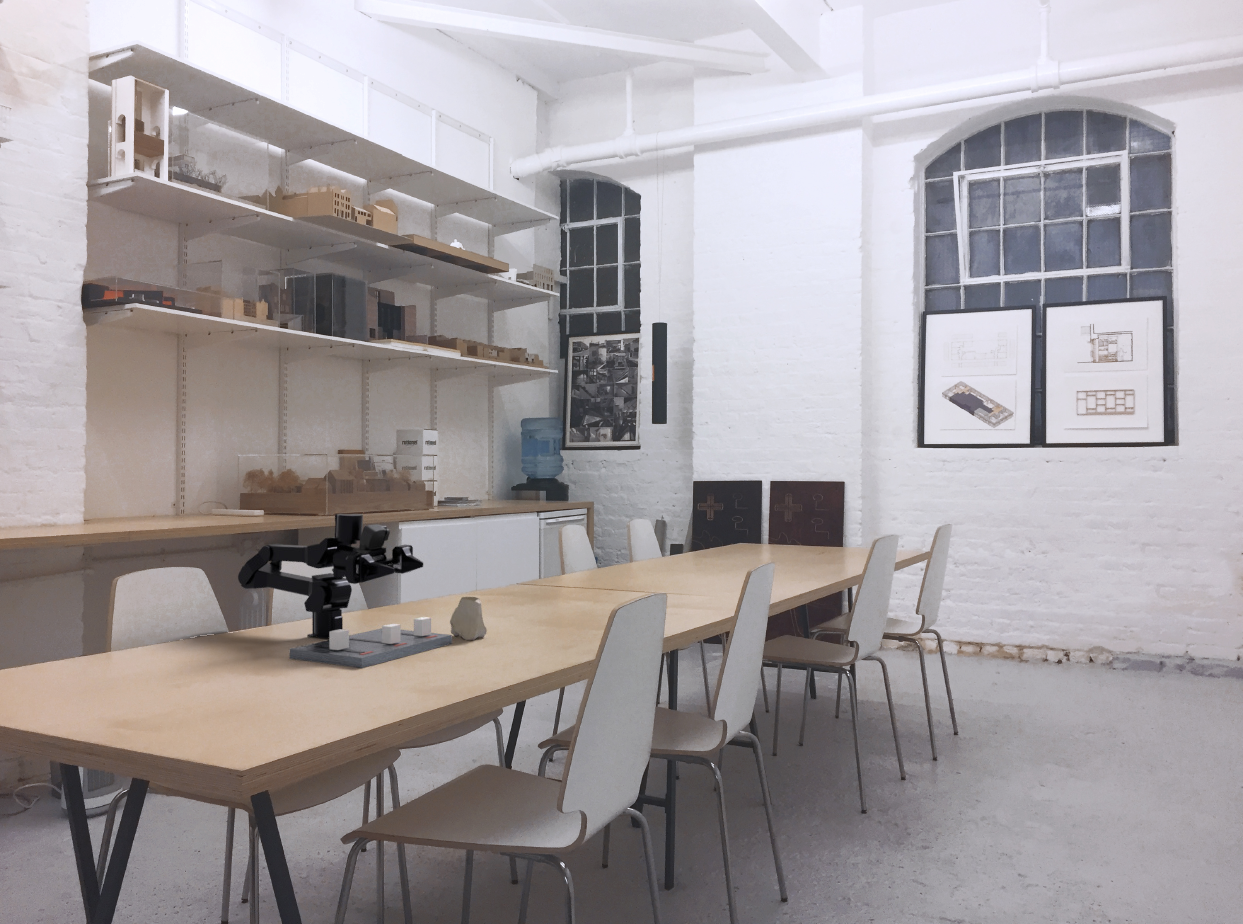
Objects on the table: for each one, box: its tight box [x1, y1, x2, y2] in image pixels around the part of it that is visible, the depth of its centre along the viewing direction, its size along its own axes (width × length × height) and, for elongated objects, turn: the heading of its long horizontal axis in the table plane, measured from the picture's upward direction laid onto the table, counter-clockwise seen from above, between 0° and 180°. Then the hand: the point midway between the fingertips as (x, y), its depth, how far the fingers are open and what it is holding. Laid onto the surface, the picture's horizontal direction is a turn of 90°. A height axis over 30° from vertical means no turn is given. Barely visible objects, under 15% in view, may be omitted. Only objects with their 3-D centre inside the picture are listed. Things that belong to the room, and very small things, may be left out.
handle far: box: [413, 616, 432, 636], centre depth 206 cm, size 2×3×4 cm
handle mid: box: [381, 623, 402, 644], centre depth 197 cm, size 2×3×4 cm
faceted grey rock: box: [449, 596, 488, 641], centre depth 215 cm, size 9×8×10 cm
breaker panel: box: [288, 627, 453, 669], centre depth 199 cm, size 20×28×2 cm
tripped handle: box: [328, 628, 350, 650], centre depth 190 cm, size 2×3×4 cm
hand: (408, 567), depth 204 cm, fingers open, 9 cm apart
